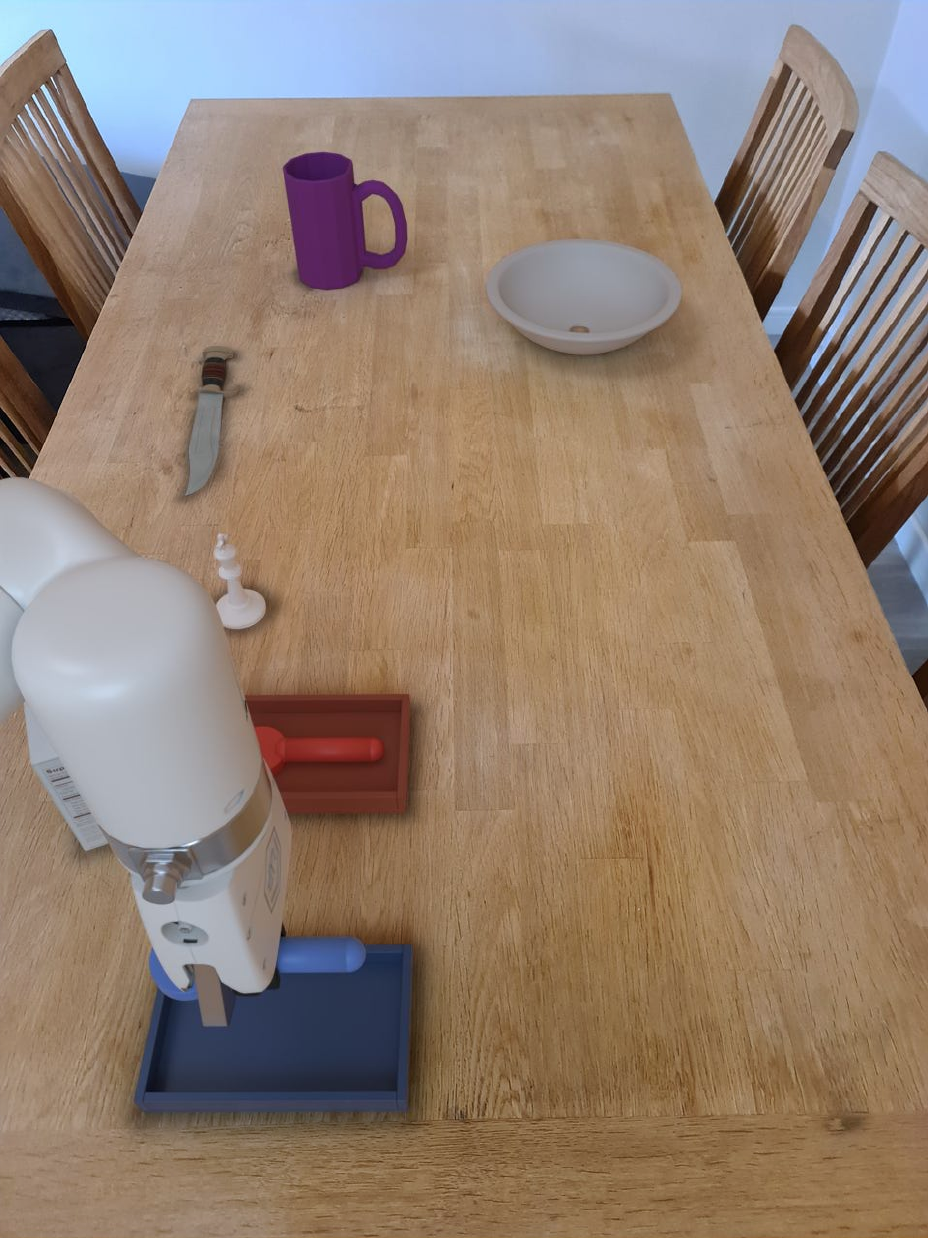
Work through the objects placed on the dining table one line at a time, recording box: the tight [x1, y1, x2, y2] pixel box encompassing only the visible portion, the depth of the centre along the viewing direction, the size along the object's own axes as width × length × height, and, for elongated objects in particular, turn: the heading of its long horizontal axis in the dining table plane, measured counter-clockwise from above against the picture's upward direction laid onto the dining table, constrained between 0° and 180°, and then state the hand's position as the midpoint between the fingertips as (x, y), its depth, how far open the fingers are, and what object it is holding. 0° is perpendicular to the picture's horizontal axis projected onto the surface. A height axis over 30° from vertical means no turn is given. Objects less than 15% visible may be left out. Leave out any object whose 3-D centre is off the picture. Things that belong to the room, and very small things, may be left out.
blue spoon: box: [148, 935, 366, 1001], centre depth 57 cm, size 13×5×2 cm, turn 90°
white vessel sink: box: [485, 238, 683, 356], centre depth 122 cm, size 24×24×7 cm
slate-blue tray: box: [133, 943, 414, 1114], centre depth 65 cm, size 17×10×3 cm, turn 90°
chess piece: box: [213, 533, 267, 630], centre depth 89 cm, size 5×5×10 cm
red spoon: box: [254, 726, 384, 776], centre depth 80 cm, size 13×5×2 cm, turn 90°
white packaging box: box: [22, 701, 109, 852], centre depth 74 cm, size 7×7×13 cm
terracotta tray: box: [244, 693, 412, 815], centre depth 80 cm, size 17×10×3 cm, turn 90°
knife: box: [184, 345, 239, 496], centre depth 112 cm, size 27×2×5 cm
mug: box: [282, 151, 408, 291], centre depth 129 cm, size 9×16×15 cm, turn 87°
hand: (256, 961), depth 57 cm, fingers closed on blue spoon, 2 cm apart
